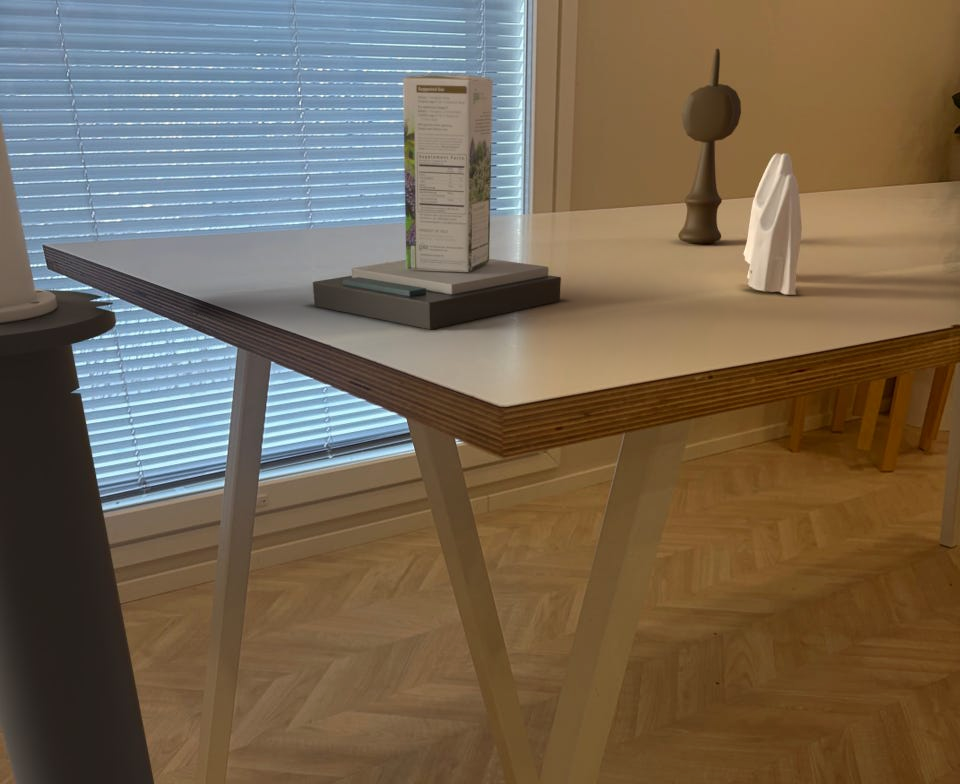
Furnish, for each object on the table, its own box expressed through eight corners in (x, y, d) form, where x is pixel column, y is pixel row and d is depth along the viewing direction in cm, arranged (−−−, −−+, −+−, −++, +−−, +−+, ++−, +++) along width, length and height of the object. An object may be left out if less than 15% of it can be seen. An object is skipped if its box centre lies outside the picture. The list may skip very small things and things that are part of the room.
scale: (430, 329, 79) (429, 291, 78) (314, 306, 87) (311, 271, 86) (560, 300, 89) (561, 267, 88) (445, 282, 98) (445, 251, 96)
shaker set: (740, 272, 102) (754, 150, 97) (783, 273, 102) (800, 150, 97) (749, 294, 92) (765, 158, 87) (797, 295, 91) (816, 158, 86)
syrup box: (429, 260, 91) (424, 74, 84) (492, 264, 90) (493, 74, 83) (405, 270, 86) (398, 74, 80) (471, 274, 85) (471, 74, 78)
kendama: (728, 238, 125) (748, 49, 116) (721, 249, 117) (742, 46, 107) (678, 236, 127) (694, 49, 117) (668, 247, 118) (684, 47, 109)
